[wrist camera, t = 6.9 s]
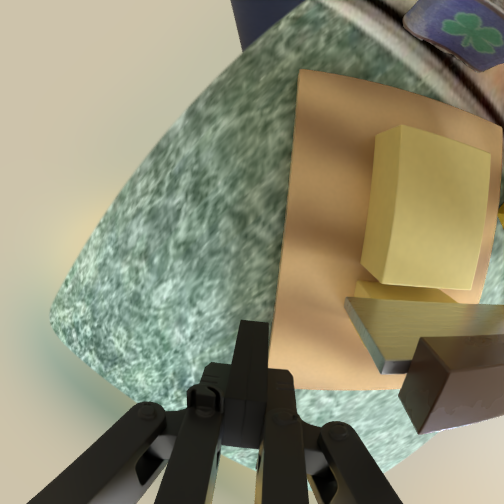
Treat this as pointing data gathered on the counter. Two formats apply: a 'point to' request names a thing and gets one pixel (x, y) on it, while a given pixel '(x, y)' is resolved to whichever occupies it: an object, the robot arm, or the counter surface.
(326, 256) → the butter board
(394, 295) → the butter pat
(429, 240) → the butter block
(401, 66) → the counter surface
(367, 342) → the dough scraper
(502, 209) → the soap bottle
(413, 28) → the flask
